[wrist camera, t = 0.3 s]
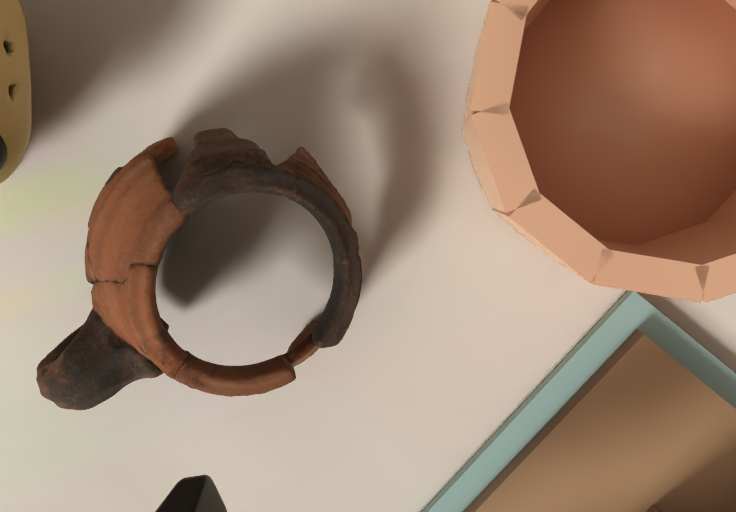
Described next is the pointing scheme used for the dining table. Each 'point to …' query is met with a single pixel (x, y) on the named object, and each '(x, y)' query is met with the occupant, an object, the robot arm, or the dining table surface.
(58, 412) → the dining table surface
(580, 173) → the terracotta bowl
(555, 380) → the teal mat
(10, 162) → the yellow rounded lump
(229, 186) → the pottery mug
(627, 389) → the walnut lid
